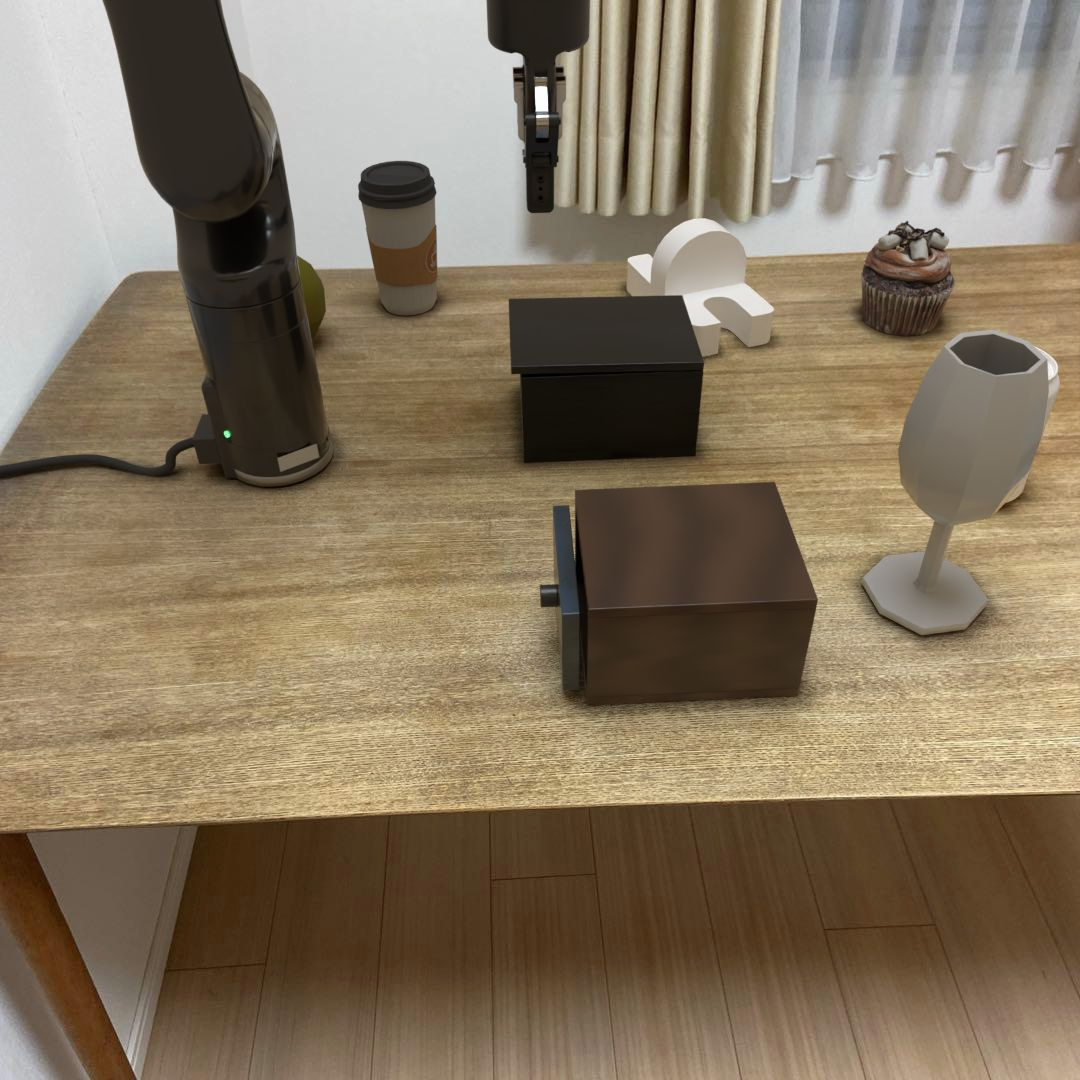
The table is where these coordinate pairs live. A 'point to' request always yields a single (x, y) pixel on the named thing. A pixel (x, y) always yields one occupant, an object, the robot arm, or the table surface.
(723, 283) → the white slotted bracket
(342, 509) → the table surface
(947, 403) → the wineglass
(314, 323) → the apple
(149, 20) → the robot arm
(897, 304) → the cupcake
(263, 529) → the table surface
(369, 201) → the coffee cup
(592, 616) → the drawer cabinet
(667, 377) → the metal box
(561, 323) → the lid
